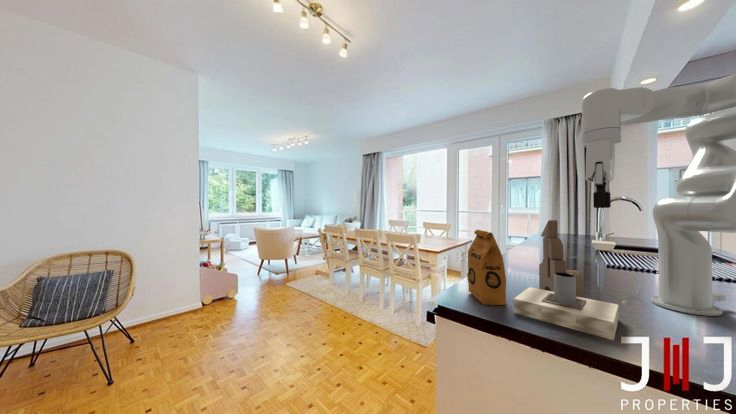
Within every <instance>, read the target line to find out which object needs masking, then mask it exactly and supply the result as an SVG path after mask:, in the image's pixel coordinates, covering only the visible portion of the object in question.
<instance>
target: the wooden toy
mask: <svg viewBox="0 0 736 414" xmlns="http://www.w3.org/2000/svg"><path fill="white" fill-rule="evenodd" d="M558 224H559V221H558V220H557V219H549V220H548V221H547V223H546V225H545V226H544V228H543V230H542V233H541V234H540V237H543V238H542V250H543V251H542V255H543V258H542V261H541V263H539V265H538V268H539V270H538V272H539V273H538V274H539V275H538V276H539V277H538V278H539V280H538V281H539V282H538V283H539V285H538V286H539V288H538V289H542V290H547V291H552V292H554V273H556V272H563V273H570V274H573V275H575V282H576V296H577V297H582V298H584V281H583V278H582V276H581V274H580V273H579V271H578V270H572V269H571V270H569V269H567V262H566V260H564V245H563V242H562V240H561V238H559V237H558V235H559V231H558V230H559V229H558V227H559V225H558Z"/></svg>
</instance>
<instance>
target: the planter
mask: <svg viewBox="0 0 736 414" xmlns="http://www.w3.org/2000/svg"><path fill="white" fill-rule="evenodd" d="M554 303H559V304H563V305H567V306H572V307H576V282H575V275H573V274H570V273H563V272H556V273H554Z"/></svg>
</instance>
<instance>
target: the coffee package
mask: <svg viewBox="0 0 736 414" xmlns="http://www.w3.org/2000/svg"><path fill="white" fill-rule="evenodd" d="M474 235H476V236H475V238H474V240H473V241H472V243H471V245H470V246H469V248H468V250H467V274H466V276H467V284H468V292H469V293H470V294H471V295H473V297H474V298H475V299H476V300H477V301H478V302H480V303H481V304H482V305H483V306H487V305H490V306H506V305H507V277H506V276H507V275H506V270H505V262H504V258H503V254H502V252H501V250H500V247H499V244H498V243H497V241H496V238H495V236H494V234H493V232H489V231H488V230H487V231H486V230H482V229H476V230H475V231H474Z"/></svg>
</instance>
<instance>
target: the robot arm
mask: <svg viewBox="0 0 736 414" xmlns="http://www.w3.org/2000/svg"><path fill="white" fill-rule="evenodd" d="M700 116H701V117H700ZM695 117H698V118H695ZM689 118H695V119H693V120H691V121H690V122H689V123H688V124H687V125H686V128H685V130H684V131H685V132H684V135H685V138H686V141H687V144H688V146H689V148H690V150H691V153H692V159H691V161H690V163H689V164H688V165H687V167H686V169H685V170H684V172H683V174H682V175H681V176H680V179H679V180H678V181H677V182H678V183H677V184H676V192H677V194H678V195H679V196H673V197H667V198H663V199H661V200H659V201H657V202H656V203H655V204H654V206H653V208H652V217H653V220H654V224H655V227H656V228H655V229H656V231H657V232H656V233H657V244H658V245H657V246H658V249H657V250H658V253H657V254H658V295H653V296H651V302H652V303H653V304H655V305H657V306H659V307H662V308H664V309H668V310H672V311H677V312H681V313H685V314H691V315H698V316H707V317H708V316H709V317H718V316H722V315H723V309H722V308H721V307H719V306H718V305H715V303H716V302H725V301H727V297H726V296H725V295H724V294H721V293H713V248H712V246H711V244H710V242H709V241H708V240H707V238H706V237H705V236H704V235H703V234H702V233H701V232H711V233H723V234H724V233H726V234H727V233H729V234H732V233H733V234H736V150H735V149H733V148H732V147H730V146H727V145H726V144H724V143H723V141H728V140H734V139H736V73H734V74H731V75H727V76H724V77H721V78H718V79H715V80H712V81H709V82H705V83H702V84H698V85H692V86H691V85H690V86H671V87H670V86H669V87H664V88H660V89H657V90H654V91H653V90H652V89H650V88H647V87H643V86H642V87H641V86H640V87H637V86H636V87H630V88H623V89H617V88H616V87H609V88H601V89H597V90H594V91H591V92H588V94H586V95H585V96H584V97H583V98H582V101H581V126H582V127H581V131H582V134H581V136H582V140H581V141H582V142H581V143H582V148H586V150H585V151H586V152H585V181H587V182H589V183H593V193H592V194H593V204H592V205H593V208H595V209H609V208H611V206H612V205H611V200H612V199H611V191H610V182H612V181H614V177H615V163H616V160H615V159H616V158H615V155H616V153H615V149H616V147H615V145H617V144H619V143H621V142H622V127H624V126H631V125H638V124H647V123H653V122H659V121H664V120H676V119H689Z"/></svg>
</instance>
